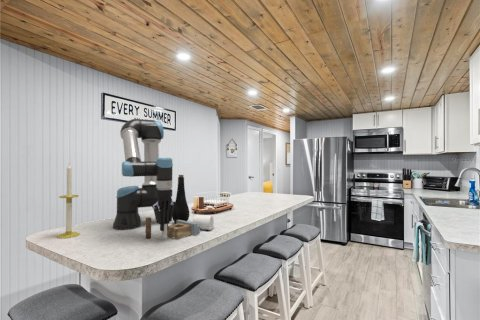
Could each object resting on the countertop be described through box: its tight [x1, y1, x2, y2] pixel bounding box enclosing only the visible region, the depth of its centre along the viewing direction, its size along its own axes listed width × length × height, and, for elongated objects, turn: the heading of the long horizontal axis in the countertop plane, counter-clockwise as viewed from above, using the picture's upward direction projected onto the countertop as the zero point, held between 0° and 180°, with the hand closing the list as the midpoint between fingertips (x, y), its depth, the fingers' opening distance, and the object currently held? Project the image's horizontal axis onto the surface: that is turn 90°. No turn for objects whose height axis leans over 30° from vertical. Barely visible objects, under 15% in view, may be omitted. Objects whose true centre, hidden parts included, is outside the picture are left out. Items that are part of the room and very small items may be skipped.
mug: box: [192, 214, 214, 231], centre depth 147 cm, size 12×10×8 cm
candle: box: [57, 162, 81, 239], centre depth 131 cm, size 10×10×38 cm
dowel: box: [145, 216, 152, 240], centre depth 128 cm, size 3×3×10 cm
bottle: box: [172, 174, 190, 224], centre depth 158 cm, size 11×11×30 cm
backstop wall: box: [176, 220, 201, 237], centre depth 138 cm, size 14×5×6 cm, turn 55°
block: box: [167, 223, 192, 240], centre depth 132 cm, size 9×9×5 cm
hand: (164, 237), depth 125 cm, fingers closed
